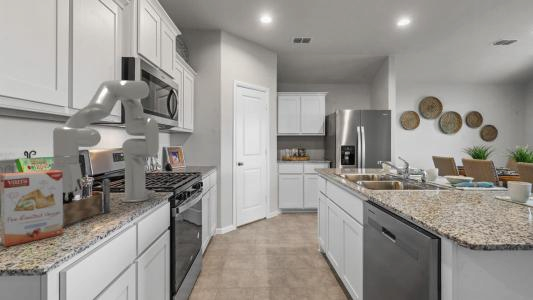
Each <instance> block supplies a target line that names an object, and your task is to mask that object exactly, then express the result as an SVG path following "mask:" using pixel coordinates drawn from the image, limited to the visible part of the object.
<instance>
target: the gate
mask: <svg viewBox="0 0 533 300" xmlns="http://www.w3.org/2000/svg"><path fill="white" fill-rule="evenodd" d="M102 212H103V193H98V194H97V195H93V196H90V197H85V198H83V199H82V198H81V199H78V200H73V201H72V202H70V203H66V204H63V227H64V226H66V225H69V224H71V223H75V222H78V221H80V220H83V219H85V218H88V217H90V216H91V217H92V216H94V215H97V214H99V213H102Z"/></svg>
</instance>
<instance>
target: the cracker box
mask: <svg viewBox="0 0 533 300" xmlns="http://www.w3.org/2000/svg"><path fill="white" fill-rule="evenodd" d="M63 234H64V226H63V172H61V171H58V170H53V171H50V170H38V171H35V170H33V171H23V172H21V171H20V172H8V173H0V243H1V244H2V245H3V246H4V247H10V246H11V247H12V246H14V245H20V244H24V243H28V242H29V243H30V242H33V241H39V240H42V239H46V238H51V237H57V236H60V235H63Z"/></svg>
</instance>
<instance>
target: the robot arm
mask: <svg viewBox="0 0 533 300" xmlns="http://www.w3.org/2000/svg"><path fill="white" fill-rule="evenodd" d="M149 95H150V86H149V85H148V83H147V82H146V81H144V80H125V79H121V80H120V79H119V80H105V81H103V82H102V83H101V84H100V85H99V87H98V88H97V90H96V91H95V94H94V95H93V97H92V98H91V99H90V101H89V103H88V104H87V105H85V106H84V107H82V108H81V109H79V110H78V111H77V112H74V114H73V115H70V117H69V118H68V119H67V120H66V121H65V123H64V125H63V126H58V127H57V126H56V127H54V128H53V130H52V139H53V140H52V141H53V143H52V144H53V145H52V146H53V147H52V151H53V152H52V154H53V155H52V163H53V164H51V166H50V170H49V171H53V170H58V171H61V172H63V204H66V203H70V202H73V200H74V199H75V197H76V196H79V195H81V194H82V193H81V190H82V189H83V176H82V167H81V164H80V156H79V155H80V153H79V151H80V148H92V147H96V146H97V145H98V144H99V143H100V142H101V140H102V139H101V138H102V136H101V133H100V132H99V131H98V130H97V129H95V128H93V127H92V128H91V127H87V126H89V125H90V124H93V123H95V122H99V121H101V120H103V119H106V118H108V117H109V116H110V115H111V114H112V113H111V112H112V111H113V109H114V107H115V106H116V103H117V102H118V101H120V102H121V103H122V106H123V107H124V125H125V127H124V128H125V129H124V130H125V132H126V134H127V135H128V136H131V137H132V136H134V138H128V139H126V140H124V141H123V143H122V148H121V151H122V154H123V159H124V197H122V198H121V202H122V203H140V202H145V201H147V200H149V198H150V197H149V196H150V195H151V196H152V195H155V194H156V191H155V190H147V189H146V164H145V161H144V160H143V158H155V157H157V155H158V153H159V149H160V136H159V135H160V133H159V132H160V130H159V124H158V122H157V120H156V119H155V118H154V117H151V116H150V117H149V116H144V107H143V105H142V102H141V101H140V100H141V99H145V98H147V97H148V96H149ZM135 136H136V137H137V136H138V137H140V136H141V137H144V138H135Z"/></svg>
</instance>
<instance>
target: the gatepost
mask: <svg viewBox="0 0 533 300" xmlns="http://www.w3.org/2000/svg"><path fill="white" fill-rule="evenodd" d="M101 182H102V183H101V184H102V210H103V211H102V212H103V215H104V214H105V215H106V214H111V186H110V185H111V180H110V179H109V178H103V180H102V181H101Z"/></svg>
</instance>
